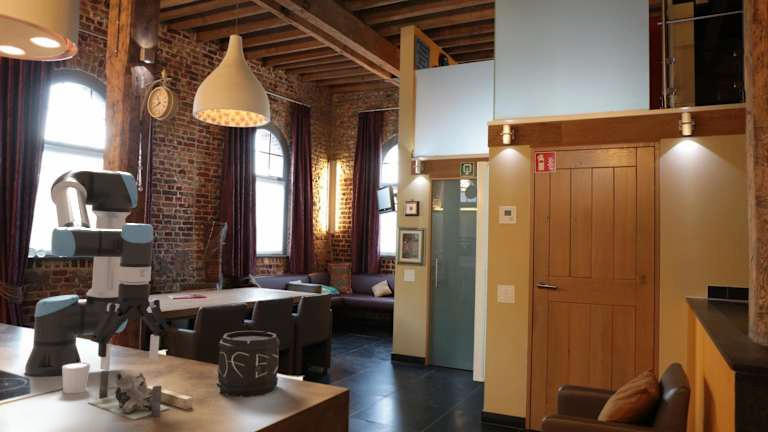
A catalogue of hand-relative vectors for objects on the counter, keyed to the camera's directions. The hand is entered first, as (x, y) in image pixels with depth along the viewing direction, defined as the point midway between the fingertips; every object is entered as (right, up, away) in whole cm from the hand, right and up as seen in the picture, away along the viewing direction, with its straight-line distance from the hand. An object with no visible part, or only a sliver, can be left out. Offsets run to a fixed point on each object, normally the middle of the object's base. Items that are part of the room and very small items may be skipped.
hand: (130, 364), depth 141 cm
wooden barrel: (+26, -12, +18) cm, 34 cm away
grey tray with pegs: (+1, -11, +1) cm, 11 cm away
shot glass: (-21, -11, +11) cm, 26 cm away
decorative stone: (+1, -10, -2) cm, 11 cm away
